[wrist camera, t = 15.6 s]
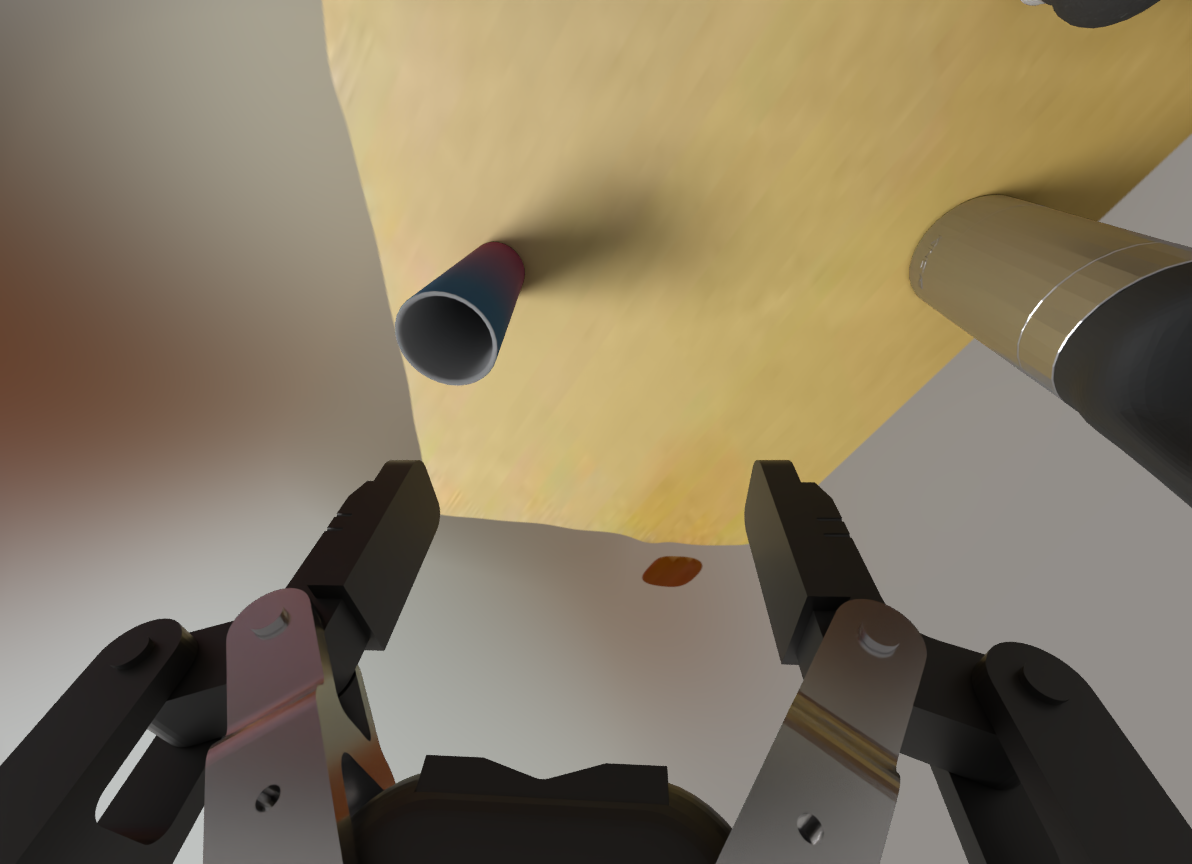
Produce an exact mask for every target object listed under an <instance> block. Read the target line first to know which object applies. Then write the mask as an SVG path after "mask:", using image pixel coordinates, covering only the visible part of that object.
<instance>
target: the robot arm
mask: <svg viewBox="0 0 1192 864" xmlns="http://www.w3.org/2000/svg"><path fill="white" fill-rule="evenodd" d="M909 279H910V283H911V286H912V289H913V290H914V292H915V293H916V295H917V296H918V297H919V298H921V299H922V300H923V301H924V302H926V303H927V304H928V305H930V306H931V307H933V308H934V309H935V310H937V311H938V312H940V313H941V314H942V315H943V316H945V317H946V318H947V319H949V320H950V321H952V322H953V323H954V324H956V325H957V326H959V327H960V328H961V329H963V330H964V331H966V332H967V333H968V334H970V335H971V336H973V337H974V338H975V339H977V340H978V341H980V342H981V343H982V344H984V345H985V346H987V347H988V348H989V349H991V350H992V351H994V352H995V353H996V354H998V355H999V356H1001V357H1002V358H1003V359H1005V360H1006V361H1008V362H1009V363H1010V364H1012V365H1013V366H1014V367H1016V368H1017V369H1019V370H1020V371H1021V372H1023V373H1024V374H1026V375H1027V376H1029V377H1030V378H1032V379H1033V380H1035V381H1036V382H1037V383H1039V384H1040V385H1041V386H1043V387H1044V388H1046V389H1047V390H1049V391H1050V392H1051V393H1053V394H1054V395H1056V396H1057V397H1058V398H1060V399H1061V400H1063V401H1064V402H1065V403H1066V404H1068V405H1069V406H1071V407H1072V408H1073V409H1075V410H1076V411H1078V412H1079V413H1080V415H1081V416H1082V417H1083V418H1084V419H1085V421H1086V422H1087V423H1088V424H1090V425H1091V426H1092V427H1093V428H1094V429H1095V430H1097V431H1098V432H1099V433H1100V434H1102V435H1103V436H1104V437H1106V438H1107V439H1108V440H1110V441H1111V442H1112V443H1114V444H1115V445H1116V446H1118V447H1119V448H1120V449H1122V450H1123V451H1124V452H1125V453H1126V454H1128V455H1129V456H1130V457H1132V458H1133V459H1134V460H1135V461H1136V462H1138V463H1139V464H1140V465H1141V466H1143V467H1144V468H1145V469H1146V470H1147V471H1149V472H1150V473H1151V474H1152V475H1154V476H1155V477H1156V478H1157V479H1158V480H1160V481H1161V482H1162V483H1163V484H1164V485H1165V486H1167V487H1168V488H1169V489H1170V490H1171V491H1173V492H1174V493H1175V494H1176V495H1177V496H1179V497H1180V498H1181V499H1182V500H1183V501H1184V502H1186V503H1187V504H1188V505H1189V506H1190V507H1192V248H1191V247H1187V246H1184V245H1180V244H1176V243H1172V242H1168V241H1164V240H1161V239H1157V238H1154V237H1150V236H1147V235H1143V234H1140V233H1136V232H1133V231H1129V230H1126V229H1122V228H1118V227H1115V226H1111V225H1108V224H1104V223H1101V222H1097V221H1094V220H1090V219H1087V218H1083V217H1080V216H1076V215H1073V214H1069V213H1066V212H1062V211H1059V210H1055V209H1051V208H1049V207H1045V206H1042V205H1038V204H1035V203H1031V202H1028V201H1024V200H1020V199H1017V198H1013V197H1009V196H1004V195H987V196H982V197H978V198H974V199H972V200H969V201H967V202H965V203H962V204H960V205H958V206H957V207H955V208H953V209H952V210H950V211H949V212H947V213H946V214H945V215H943V216H942V217H941V218H940V219H939V220H937V221H936V222H935V223H934V224H933V225H932V226H931V227H930V229H929V230H928V231H927V232H926V233H925V234H924V236H923V237H922V239H921V240H920V242H919V243H918V245H917V247H916V249H915V252H914V254H913V256H912V260H911V264H910V268H909ZM439 519H440V507H439V503H438V500H437V497H436V495H435V492H434V489H433V486H432V483H431V481H430V478H429V475H428V472H427V470H426V467H425V465H424V463H423V462H422V461H420V460H391V461H388V462H386V463H385V465H384V466H383V468H382V469H381V471H380V473H379V474H378V475H377V477H376V478H375V480H374V481H367V482H366V483H364V484H363V485H362V486H361V487H359V488H358V489H357V490H356V491H354V492H353V493H352V494H351V495H350V496H349V497H348V498H347V500H346V501H345V502H344V504H343V505H342V507H341V508H340V510H339V511H338V513H337V517H334V518H333V520H332V521H331V523H330V524H329V526H328V527H327V531H325V532H324V533H323V534H322V536H321V537H320V539H319V540H318V542H317V543H316V545H315V546H314V548H313V549H312V550H311V552H310V553H309V555H308V556H307V558H306V559H305V561H304V562H303V564H302V565H301V566H300V568H299V569H298V571H297V572H296V574H295V575H294V577H293V578H292V580H291V581H290V582H289V584H288V585H287V587H286V588H285V589H279V590H276V591H273V592H270V593H268V594H266V595H264V596H262V597H260V598H258V599H257V600H255V601H254V602H252V603H251V604H250V605H248V606H247V607H246V608H245V609H244V610H243V611H242V612H241V613H240V614H239V615H238V616H237V617H236V619H235V620H234V621H231V622H227V623H224V624H220V625H216V626H213V627H209V628H205V629H201V630H197V631H193V632H190V633H189V632H188V631H187V630H186V629H185V628H184V627H182V626H181V625H180V624H179V623H178V622H176V621H175V620H172V619H157V620H153V621H149V622H146V623H144V624H141V625H139V626H137V627H134V628H133V629H131V630H129V631H127V632H125V633H124V634H122V635H121V636H119V637H118V638H116V639H115V640H114V641H113V642H111V643H110V644H109V645H108V646H107V647H105V648H104V649H103V650H102V651H101V652H100V653H99V655H97V657H96V658H95V659H94V660H93V661H92V662H91V663H90V664H89V666H88V667H87V668H86V669H85V670H84V671H83V672H82V674H81V675H80V676H79V677H78V678H77V679H76V680H75V682H74V683H73V684H72V685H71V686H70V687H69V688H68V690H67V691H66V692H65V693H64V694H63V695H62V696H61V697H60V699H59V700H58V701H57V702H56V703H55V704H54V705H53V707H52V708H51V709H50V710H49V711H48V712H47V713H46V715H45V716H44V717H43V718H42V719H41V720H40V721H39V722H38V724H37V725H36V726H35V727H34V728H33V730H32V731H31V732H30V733H29V734H28V735H27V736H26V737H25V738H24V740H23V741H22V742H21V743H20V744H19V745H18V746H17V748H16V749H15V750H14V751H13V752H12V753H11V754H10V755H9V757H8V758H7V759H6V760H5V761H4V762H3V764H2V765H1V766H0V864H173V862H174V860H175V858H176V856H177V854H178V852H179V851H180V849H181V847H182V845H183V843H184V842H185V840H186V838H187V836H188V834H189V832H190V831H191V829H192V827H193V825H194V823H195V821H196V819H197V818H198V816H199V814H200V812H201V810H202V808H203V807H204V846H203V847H204V849H203V864H880V860H881V857H882V853H883V849H884V846H885V842H886V838H887V835H888V831H889V827H890V823H891V820H892V816H893V813H894V809H895V805H896V802H897V797H898V793H899V788H900V775H899V774H898V773H897V772H896V765H897V760H898V756H899V753H902V754H904V755H907V756H909V757H912V758H915V759H917V760H920V761H923V762H925V763H928V764H930V766H931V769H932V771H933V774H934V776H935V779H936V781H937V784H938V786H939V789H940V791H941V794H942V797H943V799H944V802H945V804H946V806H947V809H948V812H949V814H950V817H951V819H952V822H953V824H954V827H955V830H956V832H957V835H958V837H959V840H960V842H961V845H962V847H963V850H964V852H965V855H966V858H967V860H968V863H969V864H1192V829H1191V827H1190V826H1189V825H1188V823H1187V822H1186V820H1185V819H1184V817H1183V816H1182V815H1181V813H1180V812H1179V810H1178V809H1177V808H1176V806H1175V805H1174V803H1173V802H1172V801H1171V799H1170V798H1169V796H1168V795H1167V794H1166V792H1165V791H1164V789H1163V788H1162V787H1161V785H1160V784H1159V782H1158V781H1157V779H1156V778H1155V777H1154V775H1153V774H1152V772H1151V771H1150V770H1149V768H1148V767H1147V766H1146V764H1145V763H1144V761H1143V760H1142V758H1141V757H1140V756H1139V754H1138V753H1137V751H1136V750H1135V749H1134V747H1133V746H1132V744H1131V743H1130V742H1129V740H1128V739H1127V738H1126V736H1125V735H1124V733H1123V732H1122V731H1121V729H1120V728H1119V726H1118V725H1117V723H1116V722H1115V720H1114V719H1113V718H1112V716H1111V715H1110V713H1109V712H1108V711H1107V709H1106V708H1105V706H1104V705H1103V704H1102V702H1101V701H1100V700H1099V698H1098V697H1097V695H1096V694H1095V693H1094V691H1093V690H1092V688H1091V687H1090V686H1089V685H1088V683H1087V682H1086V681H1085V680H1084V679H1083V678H1082V677H1081V676H1080V675H1079V674H1078V673H1077V672H1076V671H1075V670H1073V669H1072V668H1071V667H1070V666H1068V665H1067V664H1066V663H1064V662H1063V661H1061V660H1060V659H1058V658H1057V657H1055V656H1053V655H1051V654H1049V653H1048V652H1046V651H1044V650H1041V649H1039V648H1036V647H1034V646H1031V645H1027V644H1024V643H1017V642H1004V643H999V644H997V645H995V646H993V647H992V648H991V649H990V650H989V651H988V652H987V653H986V654H981V653H978V652H974V651H972V650H968V649H965V648H961V647H958V646H955V645H951V644H948V643H945V642H942V641H938V640H935V639H933V638H930V637H927V636H925V635H923V634H921V633H919V631H918V630H917V628H916V627H915V626H914V625H913V624H912V623H911V621H910V620H909V619H907V618H906V617H905V616H904V615H903V614H901V613H900V612H898V611H897V610H895V609H894V608H892V607H890V606H888V605H886V604H885V603H884V601H883V599H882V597H881V596H880V594H879V591H878V589H877V587H876V585H875V583H874V582H873V580H872V577H871V575H870V573H869V572H868V570H867V567H866V565H865V563H864V562H863V559H862V557H861V555H860V553H859V551H858V549H857V547H856V545H855V544H854V541H853V539H852V538H850V536H849V531H848V529H847V527H846V525H845V523H844V522H842V517H841V515H840V513H839V511H838V509H837V507H836V505H835V503H834V501H833V499H832V498H831V497H830V496H829V495H828V494H827V493H825V492H824V491H823V490H822V489H821V488H820V487H819V486H818V485H817V484H816V483H815V482H801V481H800V479H799V477H798V475H797V472H796V470H795V468H794V466H793V464H792V462H791V461H790V460H756V461H755V463H754V465H753V469H752V474H751V479H750V484H749V489H748V494H747V499H746V504H745V528H746V533H747V537H748V540H749V544H750V548H751V552H752V555H753V559H754V563H755V567H756V570H757V574H758V578H759V582H760V585H761V589H762V593H763V597H764V600H765V604H766V608H767V612H768V615H769V619H770V623H771V627H772V630H773V634H774V638H775V641H776V645H777V649H778V653H779V657H780V660H781V664H789V665H790V664H791V665H799V667H800V670H801V673H802V677H803V683H802V684H801V687H800V689H799V691H798V693H797V695H796V697H795V699H794V701H793V703H792V705H791V707H790V709H789V711H788V713H787V715H786V717H785V719H784V721H783V723H782V725H781V728H780V730H779V732H778V734H777V736H776V738H775V740H774V742H773V744H772V746H771V749H770V751H769V753H768V755H767V757H766V759H765V761H764V763H763V766H762V768H761V769H760V772H759V774H758V776H757V778H756V780H755V782H754V784H753V786H752V788H751V790H750V793H749V795H748V797H747V799H746V801H745V803H744V805H743V807H742V809H741V812H740V814H739V816H738V818H737V820H736V822H735V824H734V826H733V828H731V827H730V826H729V824H728V823H727V822H726V821H725V820H724V819H723V818H722V817H721V816H720V815H719V814H718V813H717V812H716V811H714V809H713V808H711V807H710V806H709V805H708V804H706V803H705V802H703V801H702V800H701V799H699V798H698V797H697V796H695V795H693V794H692V793H690V792H688V791H686V790H684V789H682V788H680V787H678V786H675V785H673V784H670V783H668V773H667V766H651V765H629V764H608V763H606V764H602V765H598V766H595V767H591V768H587V769H583V770H579V771H576V772H572V773H568V774H564V775H561V776H557V777H553V778H549V779H537V778H534V777H531V776H529V775H526V774H524V773H521V772H519V771H516V770H514V769H511V768H509V767H506V766H503V765H501V764H498V763H496V762H493V761H491V760H488V759H486V758H479V757H457V756H438V755H426V758H425V761H424V764H423V768H422V771H421V773H420V774H417V775H414V776H412V777H409V778H407V779H404V780H402V781H400V782H398V783H395V780H394V777H393V775H392V772H391V769H390V767H389V765H388V763H387V761H386V759H385V757H384V755H383V752H382V750H381V747H380V744H379V740H378V736H377V733H376V729H375V725H374V721H373V717H372V713H371V709H370V705H369V701H368V697H367V693H366V689H365V685H364V681H363V677H362V673H361V670H360V667H359V666H358V662H359V660H360V658H361V656H362V654H363V652H364V650H377V651H379V650H380V651H384V650H385V648H386V645H387V643H388V641H389V639H390V636H391V634H392V632H393V629H394V627H395V625H396V623H397V620H398V618H399V616H400V613H401V611H402V609H403V607H404V604H405V602H406V600H407V597H408V595H409V593H410V590H411V588H412V586H413V583H414V581H415V579H416V577H417V574H418V572H419V569H420V567H421V565H422V563H423V560H424V558H425V556H426V554H427V551H428V549H429V547H430V544H431V542H432V540H433V537H434V535H435V533H436V531H437V528H438V525H439ZM146 729H148V730H149V731H151V732H153V733H154V734H156V737H155V738H154V740H153V741H152V743H151V744H150V746H149V747H148V749H147V750H146V752H145V753H144V755H143V756H142V758H141V759H140V761H139V762H138V763H137V765H136V766H135V768H134V769H133V771H132V772H131V774H130V775H129V777H128V778H127V780H126V781H125V783H124V784H123V786H122V787H121V788H120V790H119V791H118V793H117V794H116V796H115V797H114V799H113V800H112V802H111V803H110V805H109V806H108V808H107V809H106V811H105V812H104V814H103V815H102V816H101V818H100V820H99V821H98V823H97V822H96V819H95V810H96V806H97V803H98V801H99V798H100V796H101V794H102V793H103V791H104V790H105V788H106V787H107V785H108V784H109V782H110V781H111V780H112V778H113V777H114V775H115V774H116V772H117V771H118V769H119V768H120V767H121V765H122V764H123V762H124V761H125V759H126V758H127V757H128V755H129V754H130V752H131V751H132V749H133V748H134V746H135V745H136V744H137V742H138V741H139V740H140V738H141V737H142V735H143V734H144V732H145V731H146Z"/></svg>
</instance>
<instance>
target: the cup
mask: <svg viewBox="0 0 1192 864" xmlns="http://www.w3.org/2000/svg"><path fill="white" fill-rule="evenodd" d="M524 277H525V269H524V265H523V262H522V260H521V258H520V257H519V255H518V254H517V253H516V252H515V251H514V250H513V249H512V248H511V247H509V246H507V245H505V244H503V243H499V242H489V243H485V244H483V245H481V246H480V247H478V248H477V249H476V250H474V251H473V252H472V253H470V254H469V255H468V256H466V257H465V258H464V259H462V260H461V261H459V262H458V263H457V264H455V265H454V266H453V267H451V268H450V269H449V270H447V271H446V272H445V273H443V274H442V275H441V276H439V277H438V278H436V279H435V280H434V281H432V282H431V283H430V284H428V285H427V286H426V287H424V288H423V289H422V290H420V291H419V292H418V293H416V294H415V295H413V296H412V297H411V298H409V299H408V300H407V301H406V302H405V303H404V304H403V305H402V306H401V308H400V310H399V312H398V314H397V317H396V322H395V335H396V339H397V343H398V345H399V347H400V350H401V352H402V353H403V355H404V356H405V358H406V359H407V361H408V362H409V363H410V364H411V365H412V366H413V367H414V368H415V369H416V370H418V371H419V372H420V373H421V374H423V375H425V376H426V377H428V378H430V379H432V380H434V381H437V382H439V383H443V384H447V385H467V384H471V383H474V382H477V381H478V380H480V379H482V378H484V377H485V376H486V375H487V374H488V373H489V372H490V371H491V369H492V368H493V366H494V364H495V361H496V359H497V356H498V353H499V350H500V347H501V344H502V342H503V339H504V336H505V333H506V330H507V327H508V324H509V322H510V319H511V316H512V313H513V310H514V307H515V304H516V301H517V299H518V296H519V293H520V290H521V287H522V284H523V281H524Z"/></svg>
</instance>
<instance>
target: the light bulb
mask: <svg viewBox="0 0 1192 864" xmlns="http://www.w3.org/2000/svg"><path fill="white" fill-rule="evenodd" d="M1021 1H1022V2H1023V3H1024V4H1027V5H1039V4H1045V3H1046V4H1048V5H1052V6H1053V9H1054V11H1055V12H1056V14H1057V15H1058V17H1060V18H1061V19H1063V20H1064V21H1066V22H1067V23H1069V24H1070V25H1073V26H1077V27H1083V28H1098V27H1105V26H1109V25H1112V24H1115V23H1118V22H1121V21H1124V20H1127V19H1129V18H1131V17H1133V16H1135V15H1137V14H1139V13H1141V12H1143V11H1145V10H1146V9H1148V8H1150V7H1151V6H1152V5H1154V4H1155V3H1157V2H1158V1H1160V0H1021Z"/></svg>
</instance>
